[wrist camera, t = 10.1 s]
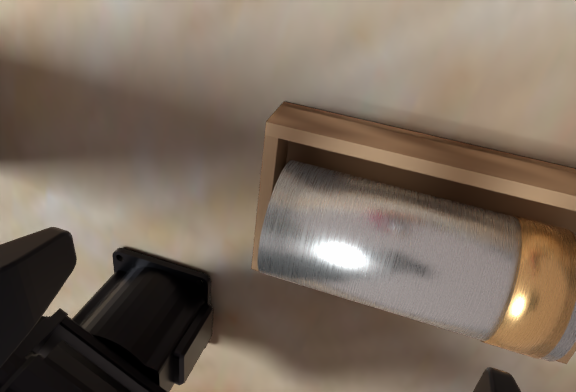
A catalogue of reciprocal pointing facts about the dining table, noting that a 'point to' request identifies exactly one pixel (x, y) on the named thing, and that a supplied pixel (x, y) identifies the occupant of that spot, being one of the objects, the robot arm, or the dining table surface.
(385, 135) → the trough
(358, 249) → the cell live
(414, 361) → the dining table surface
